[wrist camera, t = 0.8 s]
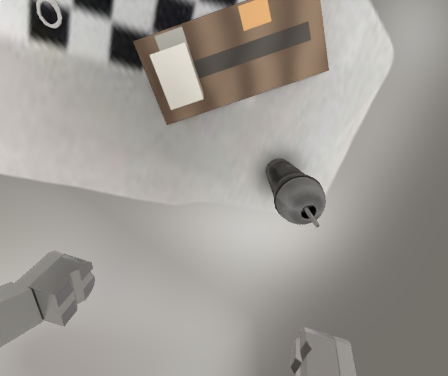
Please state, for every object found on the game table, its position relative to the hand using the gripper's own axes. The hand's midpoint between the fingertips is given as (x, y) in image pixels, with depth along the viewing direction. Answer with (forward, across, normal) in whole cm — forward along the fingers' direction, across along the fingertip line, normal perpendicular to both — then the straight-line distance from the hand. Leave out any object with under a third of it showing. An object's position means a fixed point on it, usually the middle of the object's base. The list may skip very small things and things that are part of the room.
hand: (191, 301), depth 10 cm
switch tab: (+33, +13, -2) cm, 35 cm away
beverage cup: (+39, -4, +13) cm, 42 cm away
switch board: (+38, +7, -5) cm, 39 cm away
